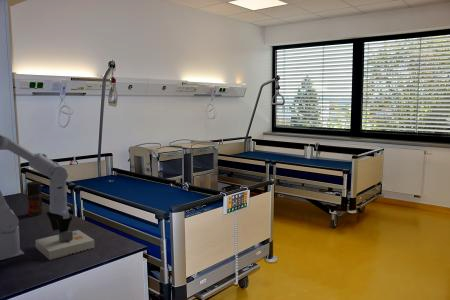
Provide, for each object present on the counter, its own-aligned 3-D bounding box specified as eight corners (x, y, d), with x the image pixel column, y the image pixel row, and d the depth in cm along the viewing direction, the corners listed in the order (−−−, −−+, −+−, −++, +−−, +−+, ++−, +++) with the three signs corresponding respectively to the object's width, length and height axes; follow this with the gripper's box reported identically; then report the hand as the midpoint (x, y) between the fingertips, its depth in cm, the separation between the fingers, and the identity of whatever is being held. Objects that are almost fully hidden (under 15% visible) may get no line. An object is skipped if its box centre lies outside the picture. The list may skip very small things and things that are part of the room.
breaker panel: (49, 259, 128) (49, 251, 127) (35, 247, 138) (35, 239, 137) (94, 247, 139) (94, 239, 138) (78, 237, 149) (78, 229, 148)
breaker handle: (61, 242, 135) (61, 234, 135) (59, 240, 137) (58, 232, 136) (72, 239, 138) (72, 231, 137) (70, 237, 140) (69, 230, 139)
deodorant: (25, 214, 175) (23, 183, 173) (37, 211, 181) (35, 180, 179) (33, 216, 173) (32, 184, 171) (45, 213, 178) (43, 182, 176)
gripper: (77, 199, 137) (78, 235, 139) (61, 192, 147) (63, 225, 149) (57, 203, 132) (58, 240, 134) (42, 194, 143) (44, 229, 144)
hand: (59, 232), depth 141 cm, fingers open, 7 cm apart
